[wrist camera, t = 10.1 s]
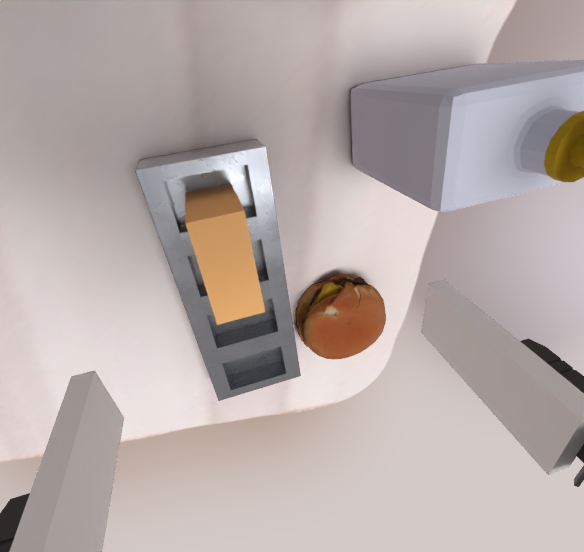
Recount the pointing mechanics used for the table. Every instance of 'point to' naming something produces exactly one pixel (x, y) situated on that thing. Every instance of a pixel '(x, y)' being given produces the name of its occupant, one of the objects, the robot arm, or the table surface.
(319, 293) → the burger
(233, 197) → the orange bridge block
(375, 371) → the table surface
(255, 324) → the grey compartment tray
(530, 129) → the soap bottle
